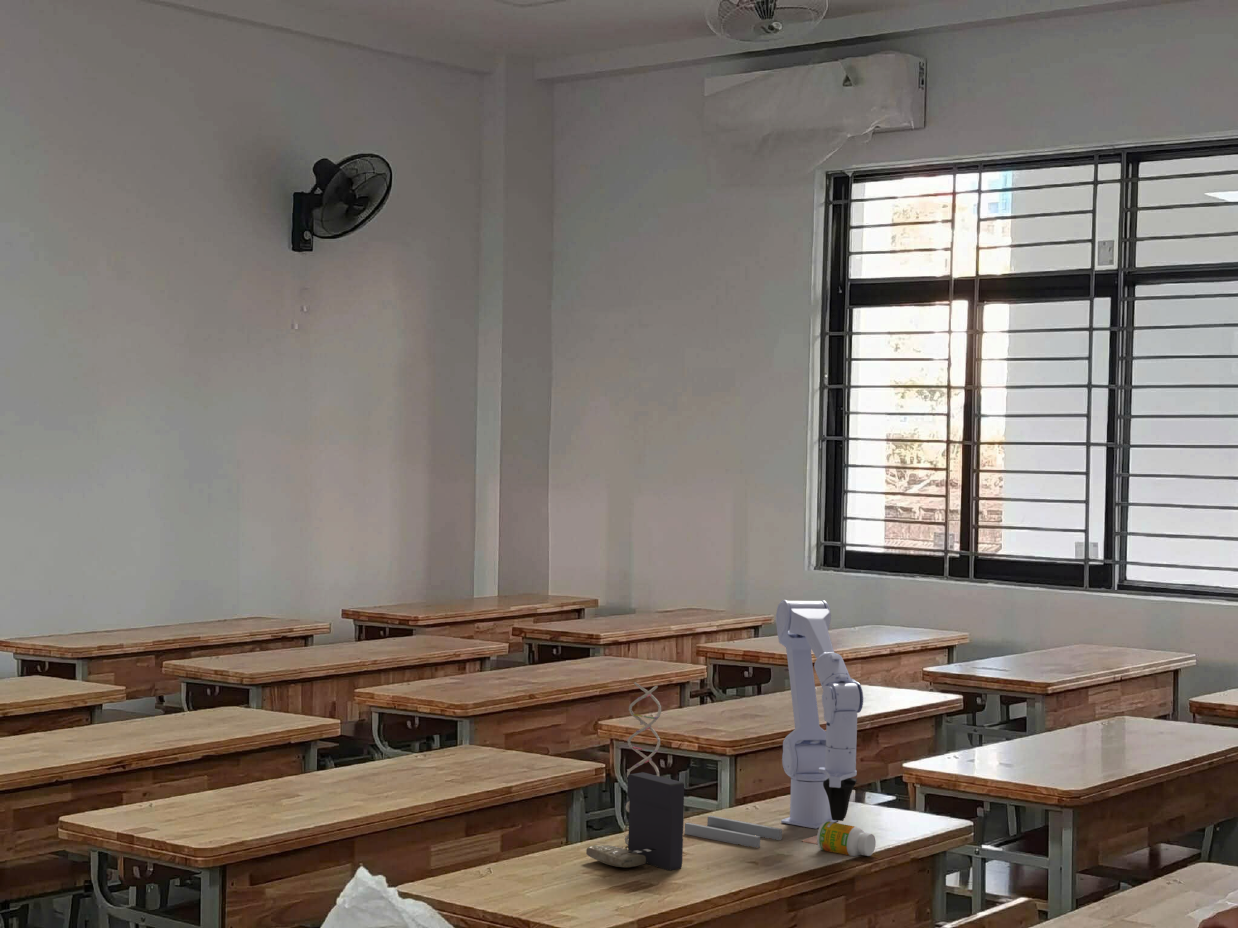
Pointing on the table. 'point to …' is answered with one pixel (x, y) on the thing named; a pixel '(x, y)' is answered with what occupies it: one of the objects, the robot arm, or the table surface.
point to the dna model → (647, 726)
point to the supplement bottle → (845, 839)
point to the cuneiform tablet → (617, 855)
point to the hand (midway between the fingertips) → (838, 818)
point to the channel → (733, 831)
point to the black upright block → (656, 819)
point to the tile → (811, 840)
